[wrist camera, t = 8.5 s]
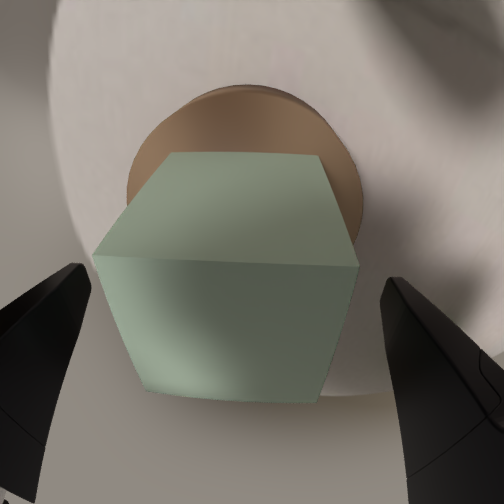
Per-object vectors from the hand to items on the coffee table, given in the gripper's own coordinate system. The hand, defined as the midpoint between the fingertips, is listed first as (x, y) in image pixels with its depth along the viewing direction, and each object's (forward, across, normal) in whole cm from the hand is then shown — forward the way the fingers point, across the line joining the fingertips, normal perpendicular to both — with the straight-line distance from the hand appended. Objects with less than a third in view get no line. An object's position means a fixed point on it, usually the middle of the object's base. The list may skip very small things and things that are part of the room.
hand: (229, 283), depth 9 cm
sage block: (+4, 0, 0) cm, 4 cm away
